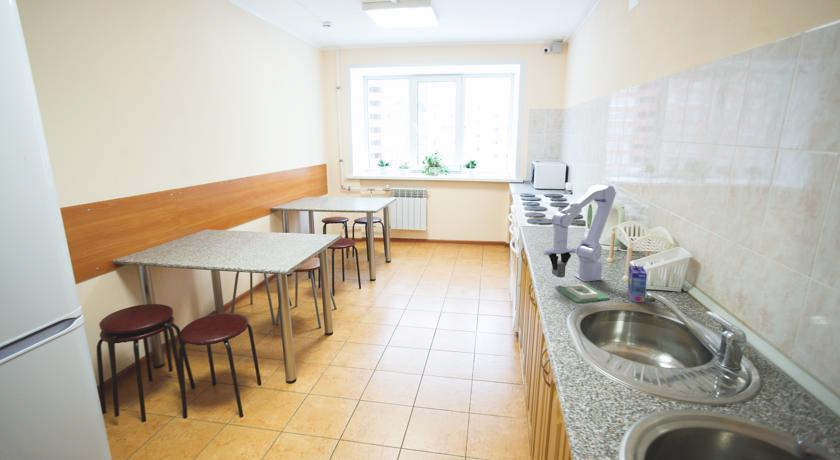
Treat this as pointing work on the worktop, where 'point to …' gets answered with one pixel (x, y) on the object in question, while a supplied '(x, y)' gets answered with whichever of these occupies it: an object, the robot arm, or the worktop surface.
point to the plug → (559, 269)
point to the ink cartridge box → (637, 283)
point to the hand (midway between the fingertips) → (558, 269)
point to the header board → (582, 293)
